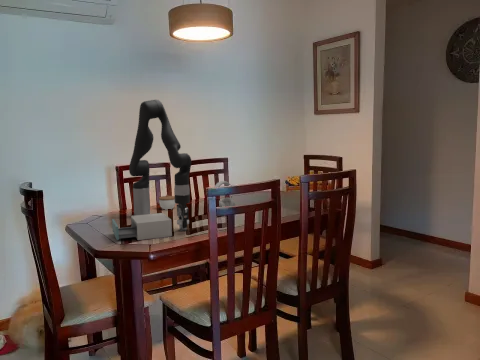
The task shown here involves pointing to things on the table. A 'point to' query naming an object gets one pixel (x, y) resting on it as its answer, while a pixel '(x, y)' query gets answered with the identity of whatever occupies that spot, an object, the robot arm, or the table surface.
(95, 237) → the table surface
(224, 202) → the headphones
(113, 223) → the grey drawer
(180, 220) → the disc
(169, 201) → the lidded jar
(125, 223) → the table surface
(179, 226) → the stand
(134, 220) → the housing
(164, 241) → the table surface
